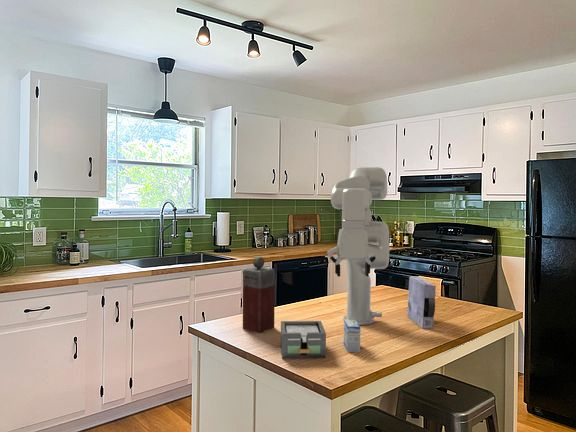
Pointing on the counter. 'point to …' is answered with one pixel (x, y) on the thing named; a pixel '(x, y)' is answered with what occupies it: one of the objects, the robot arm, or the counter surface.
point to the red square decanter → (258, 297)
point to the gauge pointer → (303, 350)
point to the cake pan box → (421, 302)
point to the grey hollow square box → (294, 342)
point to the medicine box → (352, 336)
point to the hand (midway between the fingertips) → (352, 275)
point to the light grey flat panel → (301, 330)
